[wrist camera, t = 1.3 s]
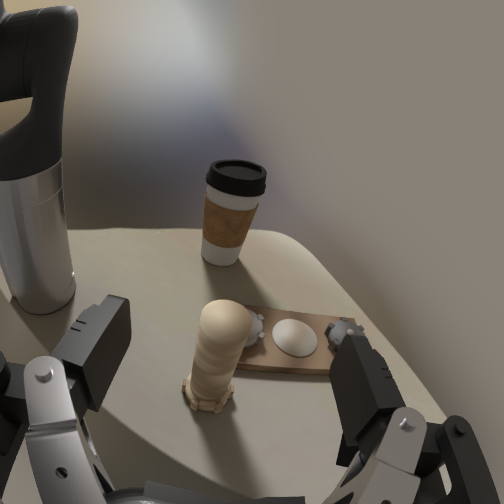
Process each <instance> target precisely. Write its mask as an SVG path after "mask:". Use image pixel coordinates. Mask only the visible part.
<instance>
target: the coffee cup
mask: <svg viewBox="0 0 504 504" xmlns="http://www.w3.org/2000/svg"><path fill="white" fill-rule="evenodd" d="M266 174H267V172H266V170H265V169H264V168H263V167H262V166H260V165H257V164H255V163H253V162H249V161H245V160H220V161H215V162H213V163H212V164H211V166H210V169H209V171H208V173H207V175H206V176H207V177H206V182H207V183H208V188H207V191H206V193H205V206H204V219H203V220H204V221H203V237H202V249H201V254H202V256H203V258H204V259H205V260H206V261H207V262H209V263H211V264H213V265H217V266H229V265H232V264H234V263H235V262H236V261H237V259H238V256H239V253H240V250H241V247H242V245H243V242H244V240H245V238H246V235H247V233H248V230H249V227H250V225H251V222H252V220H253V217H254V215H255V212H256V210H257V207H258V201H259V198H260V195H262V194H264V192H265V188H266V184H265V181H266Z"/></svg>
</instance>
